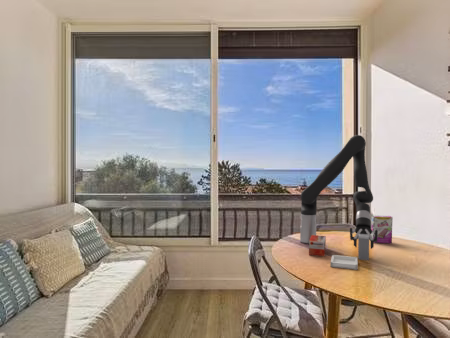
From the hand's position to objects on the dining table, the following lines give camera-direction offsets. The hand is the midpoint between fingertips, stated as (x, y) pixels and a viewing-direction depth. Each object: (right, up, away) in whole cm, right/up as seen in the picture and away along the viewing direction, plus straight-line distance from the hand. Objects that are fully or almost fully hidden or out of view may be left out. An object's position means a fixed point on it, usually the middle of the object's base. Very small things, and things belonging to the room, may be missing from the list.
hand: (363, 247), depth 170 cm
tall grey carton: (0, -6, +1) cm, 6 cm away
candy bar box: (+25, -5, +33) cm, 41 cm away
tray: (-13, -6, -8) cm, 17 cm away
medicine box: (-20, -6, +12) cm, 25 cm away
